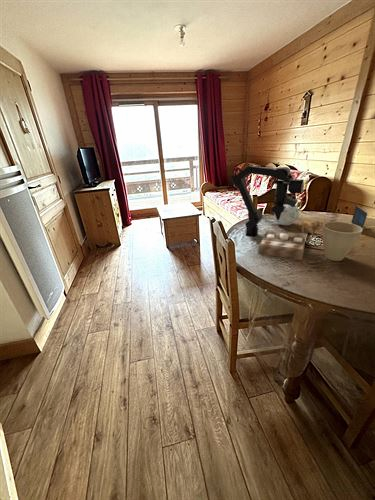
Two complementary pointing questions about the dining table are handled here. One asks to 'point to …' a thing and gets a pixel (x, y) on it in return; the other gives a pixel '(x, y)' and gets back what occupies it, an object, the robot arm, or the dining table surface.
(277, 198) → the robot arm
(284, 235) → the button middle
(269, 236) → the button left
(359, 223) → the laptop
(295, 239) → the button right
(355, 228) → the plant pot
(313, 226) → the lion figurine
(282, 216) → the puzzle ball
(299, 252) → the button board
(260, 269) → the dining table surface
